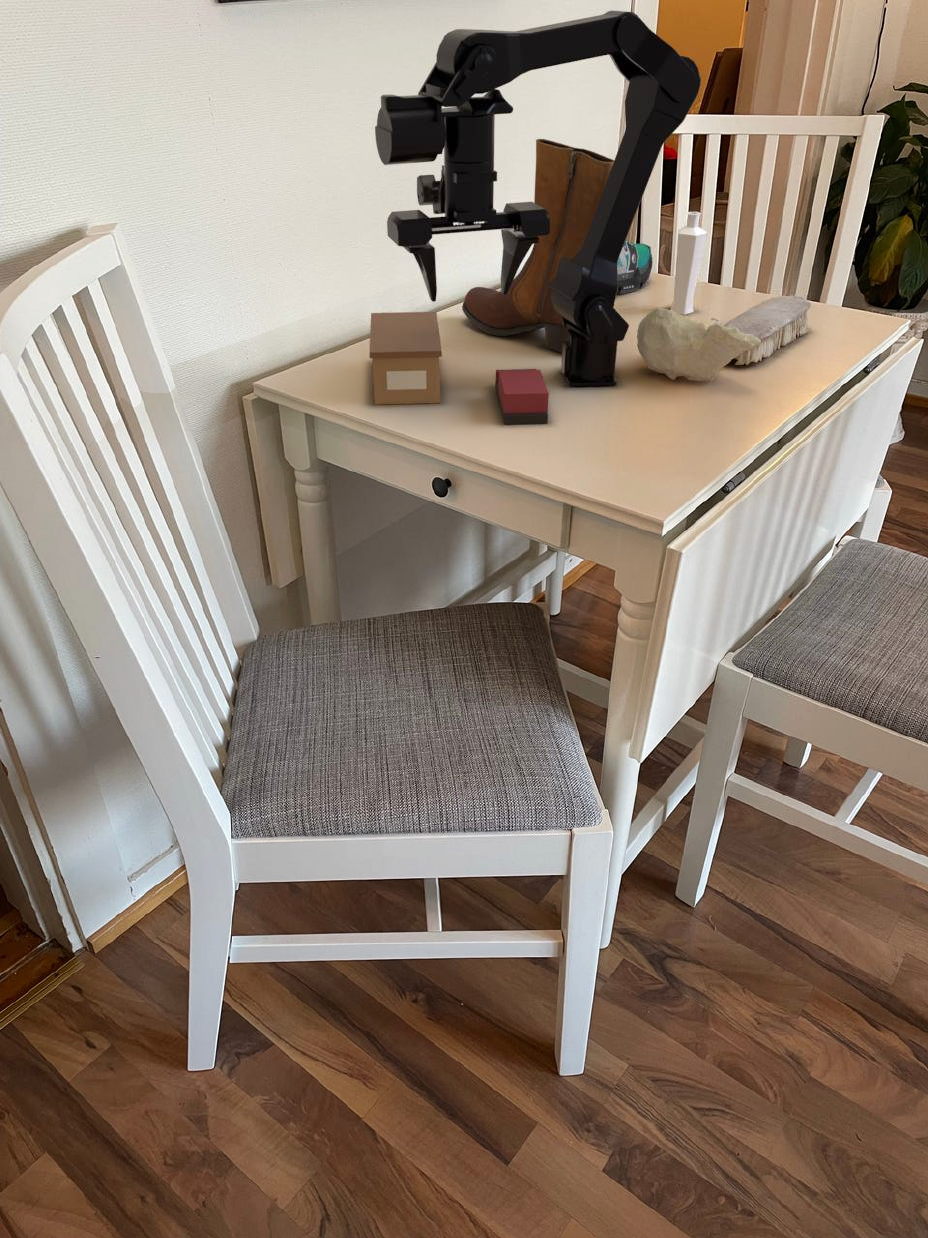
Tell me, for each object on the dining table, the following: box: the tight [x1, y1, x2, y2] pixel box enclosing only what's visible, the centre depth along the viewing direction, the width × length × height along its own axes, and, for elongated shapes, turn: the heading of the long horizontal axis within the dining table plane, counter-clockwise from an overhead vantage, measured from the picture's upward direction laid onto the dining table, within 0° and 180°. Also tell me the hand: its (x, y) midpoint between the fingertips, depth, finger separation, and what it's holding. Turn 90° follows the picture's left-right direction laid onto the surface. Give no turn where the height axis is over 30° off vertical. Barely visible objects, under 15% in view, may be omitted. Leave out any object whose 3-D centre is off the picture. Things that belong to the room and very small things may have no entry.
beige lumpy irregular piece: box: [636, 307, 761, 383], centre depth 130 cm, size 15×7×15 cm
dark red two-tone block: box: [494, 368, 550, 425], centre depth 122 cm, size 5×12×4 cm, turn 4°
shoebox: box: [369, 311, 443, 405], centre depth 128 cm, size 9×16×7 cm, turn 4°
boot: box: [461, 138, 615, 354], centre depth 138 cm, size 25×9×27 cm, turn 39°
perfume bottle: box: [669, 211, 708, 316], centre depth 152 cm, size 5×4×15 cm
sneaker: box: [617, 239, 653, 295], centre depth 162 cm, size 9×24×15 cm, turn 134°
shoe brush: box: [723, 295, 812, 366], centre depth 141 cm, size 24×8×5 cm, turn 143°
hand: (468, 297), depth 119 cm, fingers open, 9 cm apart
